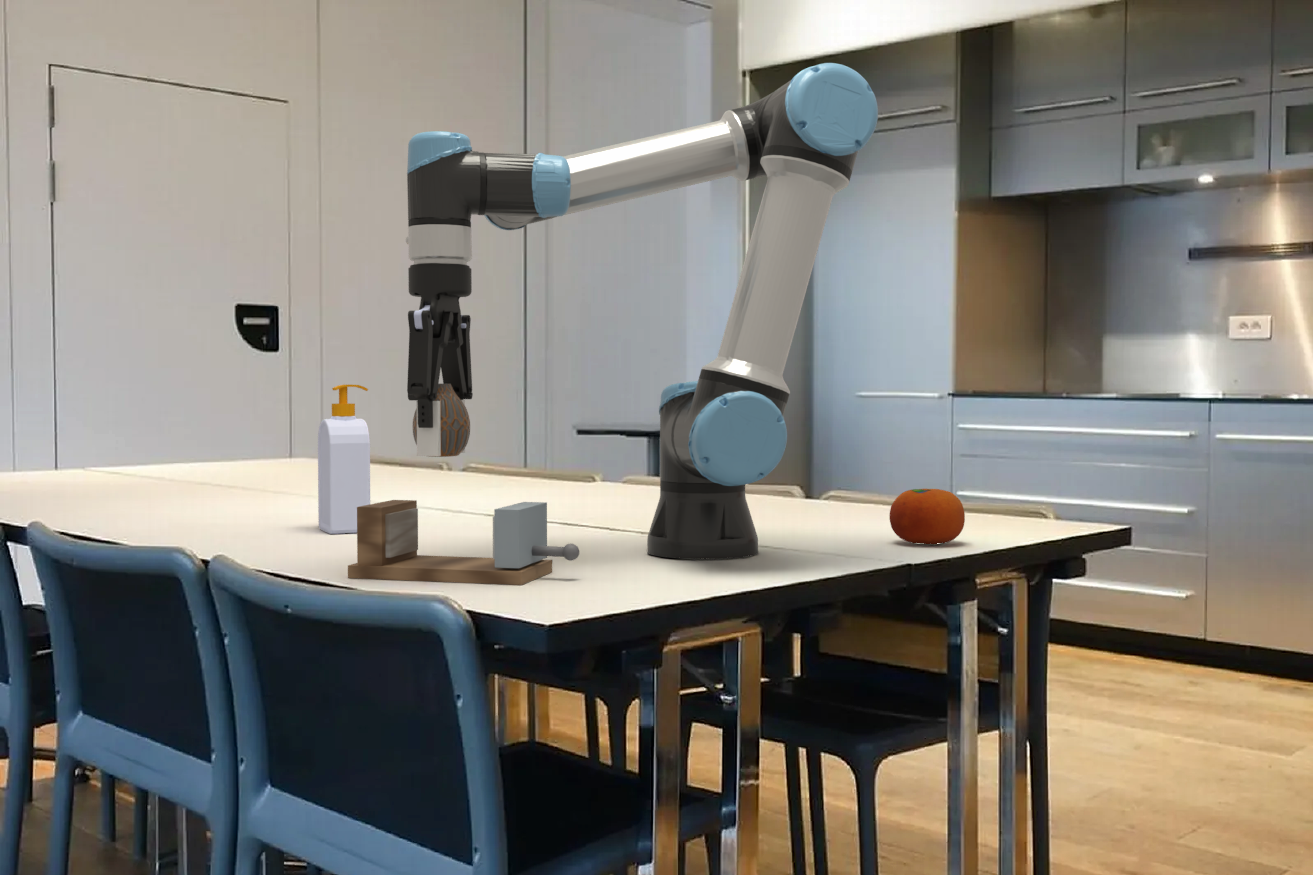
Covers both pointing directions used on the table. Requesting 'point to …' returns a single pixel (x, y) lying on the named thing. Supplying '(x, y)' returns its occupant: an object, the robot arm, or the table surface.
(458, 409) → the vase
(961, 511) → the fruit
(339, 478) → the soap bottle
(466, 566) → the vise base
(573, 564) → the table surface
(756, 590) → the table surface
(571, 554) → the jaw
